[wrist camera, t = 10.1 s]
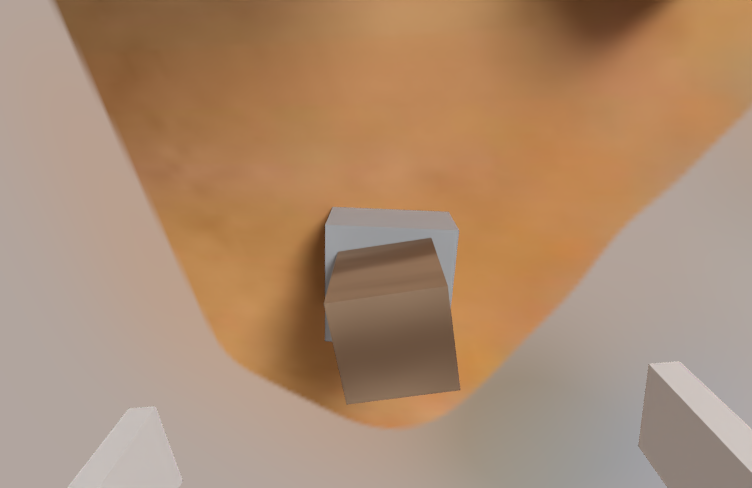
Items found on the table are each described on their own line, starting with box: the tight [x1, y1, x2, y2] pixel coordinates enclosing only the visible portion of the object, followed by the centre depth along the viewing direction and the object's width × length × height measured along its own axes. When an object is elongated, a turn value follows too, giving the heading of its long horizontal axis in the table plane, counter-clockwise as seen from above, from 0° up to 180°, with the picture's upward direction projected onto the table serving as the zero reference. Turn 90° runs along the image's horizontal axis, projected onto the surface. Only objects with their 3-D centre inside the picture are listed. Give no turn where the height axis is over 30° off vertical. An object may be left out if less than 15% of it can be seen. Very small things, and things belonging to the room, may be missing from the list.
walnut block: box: [324, 238, 460, 404], centre depth 21 cm, size 5×5×6 cm
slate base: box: [325, 207, 459, 341], centre depth 26 cm, size 7×7×4 cm
